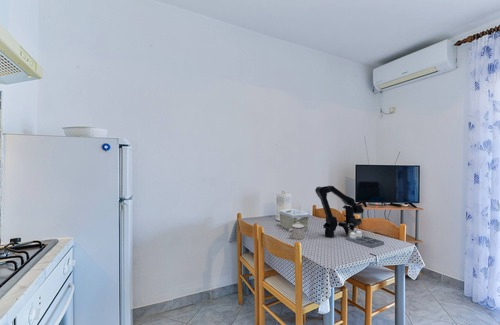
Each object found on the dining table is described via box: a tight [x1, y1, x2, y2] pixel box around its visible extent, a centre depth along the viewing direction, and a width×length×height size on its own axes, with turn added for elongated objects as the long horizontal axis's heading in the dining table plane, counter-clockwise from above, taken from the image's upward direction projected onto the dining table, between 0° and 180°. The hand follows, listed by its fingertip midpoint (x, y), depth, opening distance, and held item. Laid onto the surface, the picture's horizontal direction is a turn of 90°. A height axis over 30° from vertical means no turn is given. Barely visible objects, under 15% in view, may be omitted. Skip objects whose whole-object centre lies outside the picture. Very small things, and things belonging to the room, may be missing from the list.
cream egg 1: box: [350, 231, 356, 239], centre depth 173 cm, size 4×4×6 cm
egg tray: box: [345, 234, 385, 249], centre depth 169 cm, size 14×20×3 cm
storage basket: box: [278, 208, 310, 232], centre depth 207 cm, size 24×16×15 cm
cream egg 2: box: [355, 230, 363, 238], centre depth 176 cm, size 4×4×6 cm
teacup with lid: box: [288, 222, 305, 240], centre depth 181 cm, size 12×9×12 cm
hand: (349, 234), depth 185 cm, fingers closed on brown egg, 4 cm apart
